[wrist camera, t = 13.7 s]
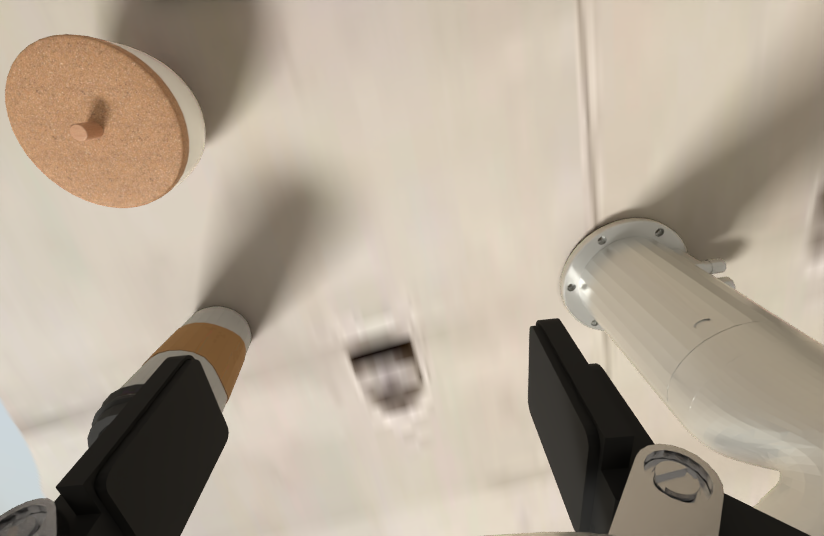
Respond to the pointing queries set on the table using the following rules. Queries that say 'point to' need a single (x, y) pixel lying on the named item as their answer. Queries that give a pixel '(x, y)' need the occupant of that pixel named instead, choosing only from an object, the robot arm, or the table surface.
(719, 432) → the robot arm
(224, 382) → the coffee cup
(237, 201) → the table surface
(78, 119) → the lidded jar
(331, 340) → the table surface
